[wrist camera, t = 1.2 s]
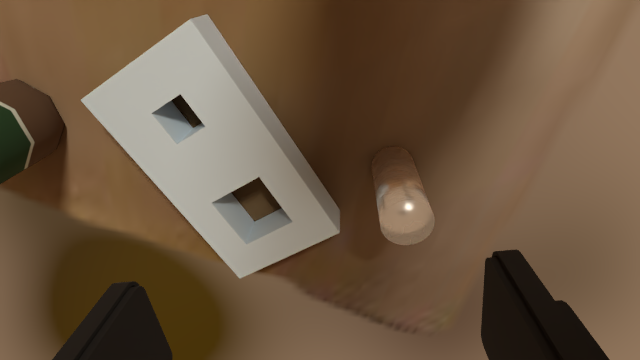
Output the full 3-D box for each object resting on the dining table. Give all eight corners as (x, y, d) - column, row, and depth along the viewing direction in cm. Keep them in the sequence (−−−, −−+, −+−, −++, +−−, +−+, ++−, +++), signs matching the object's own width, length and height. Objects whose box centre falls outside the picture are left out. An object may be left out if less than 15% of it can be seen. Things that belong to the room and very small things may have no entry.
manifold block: (207, 14, 32) (190, 18, 28) (340, 210, 40) (339, 232, 36) (106, 87, 35) (80, 100, 32) (248, 254, 43) (239, 278, 40)
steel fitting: (401, 138, 36) (421, 191, 27) (419, 171, 37) (443, 232, 29) (364, 158, 37) (370, 214, 28) (383, 189, 38) (394, 252, 30)
